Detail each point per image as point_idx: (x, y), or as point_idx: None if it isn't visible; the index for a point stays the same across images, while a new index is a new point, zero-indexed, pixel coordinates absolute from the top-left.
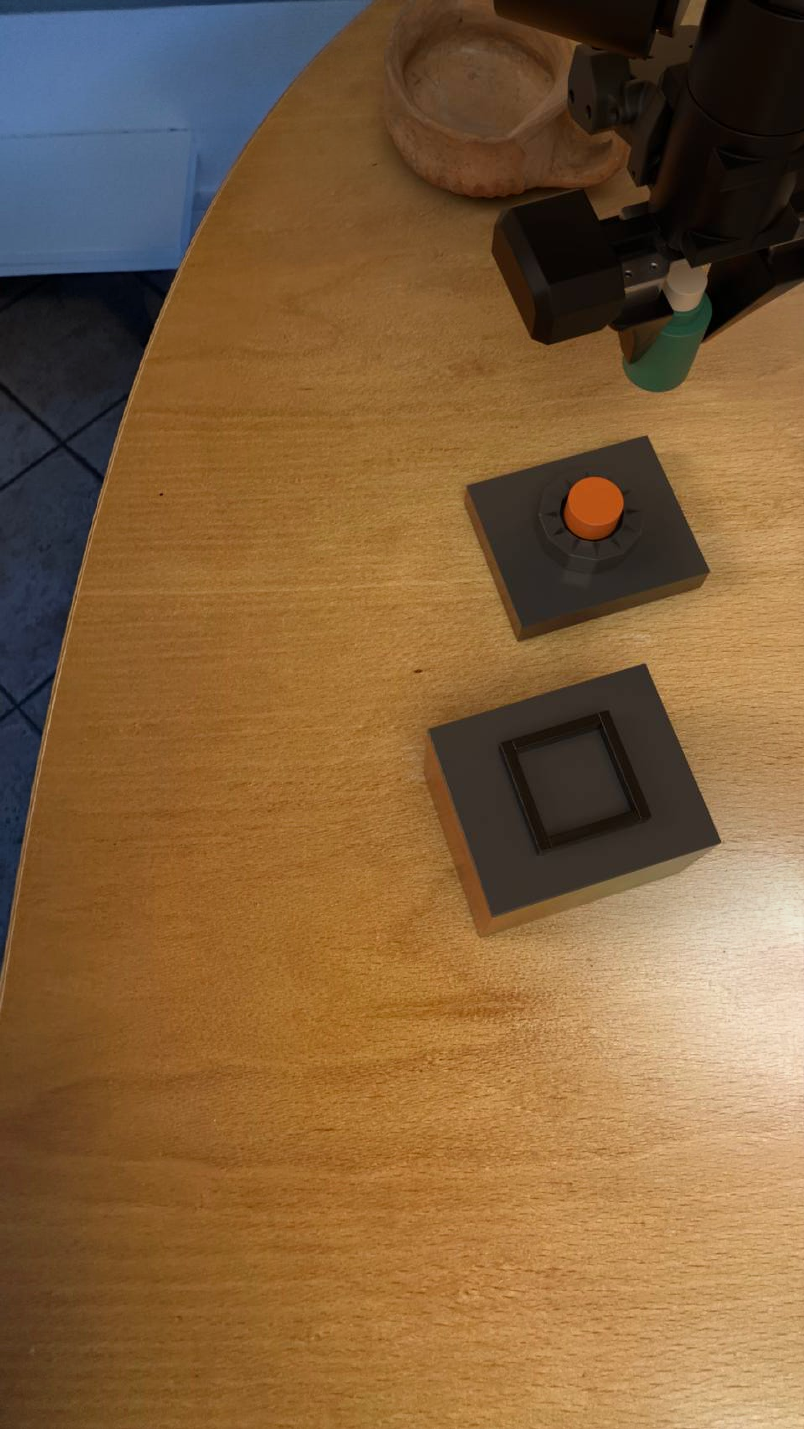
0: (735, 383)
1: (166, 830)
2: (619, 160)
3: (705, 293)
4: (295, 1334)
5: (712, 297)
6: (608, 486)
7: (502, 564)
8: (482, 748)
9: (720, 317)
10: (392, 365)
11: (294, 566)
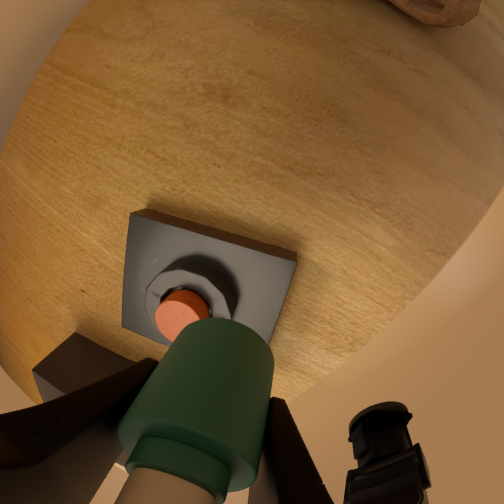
0: (411, 244)
1: (4, 278)
2: (445, 21)
3: (254, 478)
4: (37, 399)
5: (262, 482)
6: (194, 320)
7: (125, 285)
8: (51, 393)
9: (251, 491)
10: (166, 65)
11: (51, 192)
